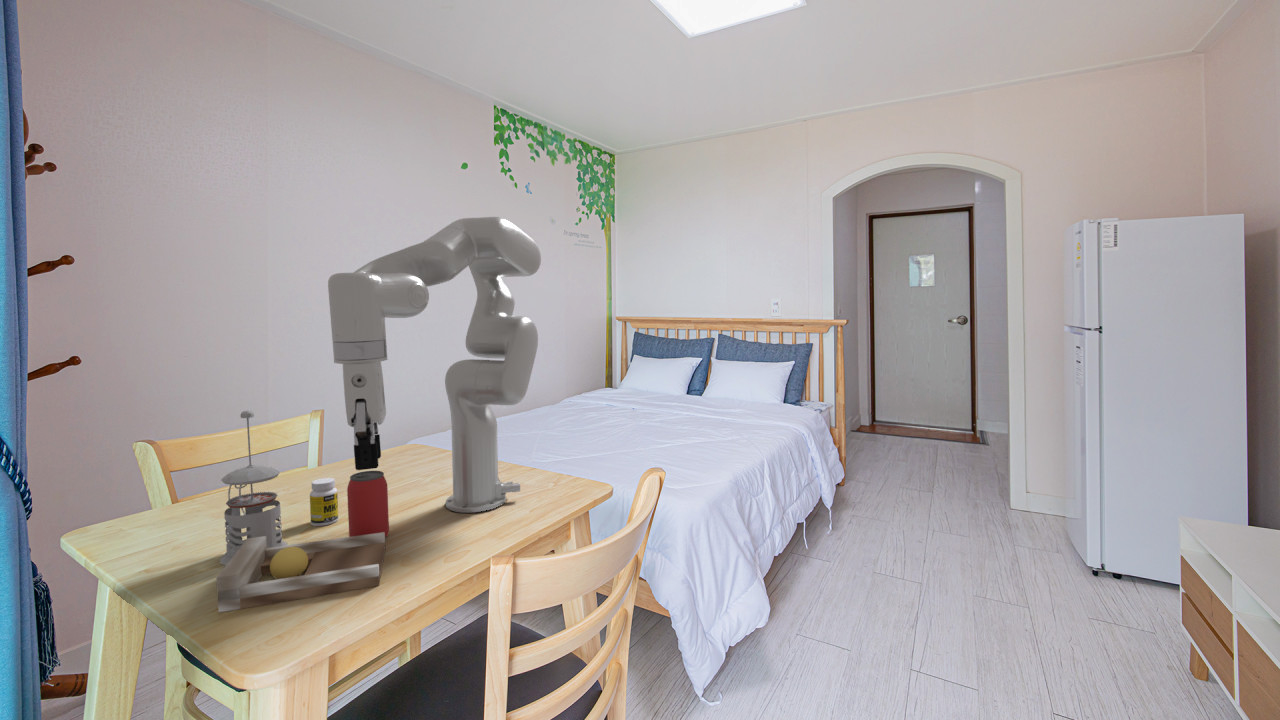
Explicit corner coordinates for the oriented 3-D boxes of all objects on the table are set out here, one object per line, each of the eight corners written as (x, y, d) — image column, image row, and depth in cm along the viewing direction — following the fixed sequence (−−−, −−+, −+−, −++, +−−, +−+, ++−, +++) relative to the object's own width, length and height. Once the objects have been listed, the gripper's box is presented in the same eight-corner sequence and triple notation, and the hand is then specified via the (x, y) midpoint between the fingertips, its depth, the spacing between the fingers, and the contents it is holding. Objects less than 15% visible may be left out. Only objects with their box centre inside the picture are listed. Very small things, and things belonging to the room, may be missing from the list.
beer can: (358, 531, 102) (356, 469, 101) (394, 530, 102) (392, 469, 101) (342, 546, 95) (339, 480, 94) (380, 545, 96) (378, 479, 95)
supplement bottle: (325, 527, 104) (323, 485, 103) (305, 525, 104) (302, 483, 104) (344, 518, 108) (342, 477, 108) (324, 516, 109) (322, 476, 108)
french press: (235, 571, 86) (226, 418, 84) (204, 555, 92) (194, 411, 90) (300, 548, 94) (293, 408, 92) (267, 535, 100) (260, 403, 98)
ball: (313, 542, 86) (277, 541, 84) (308, 554, 82) (269, 552, 80) (307, 573, 86) (271, 572, 84) (301, 586, 82) (262, 586, 80)
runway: (385, 548, 94) (384, 521, 94) (379, 585, 81) (377, 553, 81) (249, 568, 87) (247, 538, 86) (218, 612, 74) (216, 577, 73)
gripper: (383, 356, 78) (391, 477, 80) (389, 346, 93) (396, 447, 96) (324, 359, 75) (334, 484, 77) (341, 348, 91) (349, 452, 93)
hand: (368, 462), depth 86 cm, fingers open, 4 cm apart
